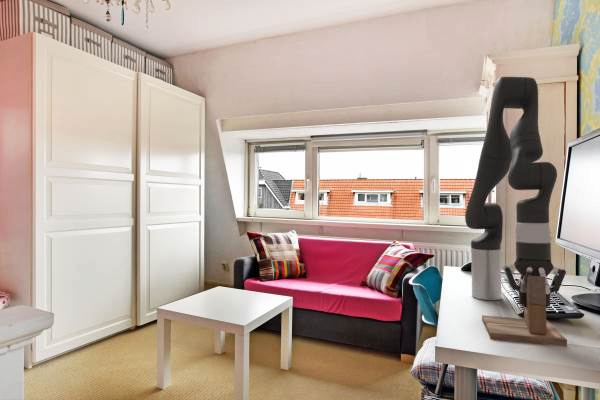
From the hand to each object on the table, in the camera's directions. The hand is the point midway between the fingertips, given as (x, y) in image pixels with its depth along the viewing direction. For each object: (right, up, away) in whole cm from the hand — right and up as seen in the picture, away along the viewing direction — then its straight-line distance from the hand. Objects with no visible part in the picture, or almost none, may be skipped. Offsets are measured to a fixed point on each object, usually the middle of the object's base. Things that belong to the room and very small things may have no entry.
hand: (534, 306), depth 92 cm
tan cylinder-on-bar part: (0, -6, 0) cm, 6 cm away
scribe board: (-3, -7, +1) cm, 8 cm away
